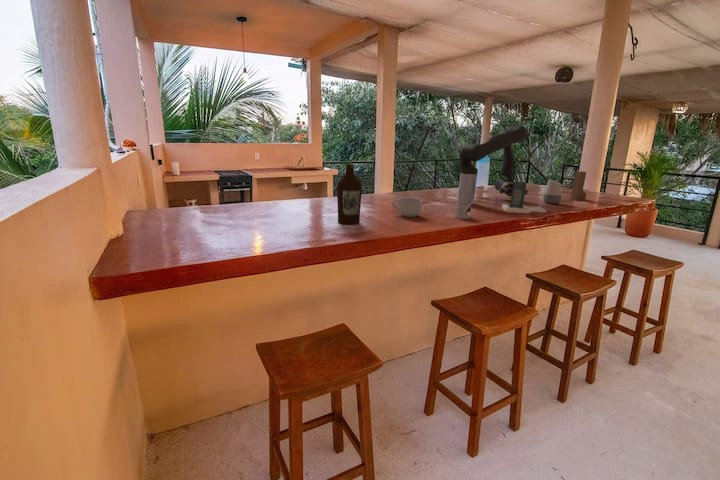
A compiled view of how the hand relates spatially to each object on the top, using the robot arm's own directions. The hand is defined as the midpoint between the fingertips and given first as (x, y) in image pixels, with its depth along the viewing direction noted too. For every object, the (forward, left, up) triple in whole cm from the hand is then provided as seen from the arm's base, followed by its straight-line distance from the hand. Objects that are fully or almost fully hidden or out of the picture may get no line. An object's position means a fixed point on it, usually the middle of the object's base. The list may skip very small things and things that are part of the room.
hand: (516, 193), depth 199 cm
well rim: (0, -5, -9) cm, 10 cm away
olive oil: (-81, -57, -9) cm, 99 cm away
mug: (-30, -30, -9) cm, 43 cm away
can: (0, -5, -9) cm, 10 cm away
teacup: (-57, -35, -9) cm, 67 cm away
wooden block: (+50, +47, -9) cm, 69 cm away
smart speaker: (+27, +25, -9) cm, 38 cm away
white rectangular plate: (+11, -1, -9) cm, 14 cm away
